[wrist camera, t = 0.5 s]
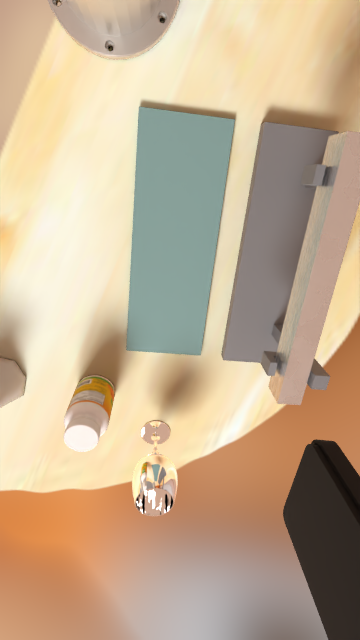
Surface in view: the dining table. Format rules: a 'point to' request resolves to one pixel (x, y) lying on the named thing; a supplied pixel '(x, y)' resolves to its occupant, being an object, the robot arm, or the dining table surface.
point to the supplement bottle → (88, 413)
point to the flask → (10, 381)
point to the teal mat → (175, 227)
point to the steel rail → (318, 266)
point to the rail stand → (274, 243)
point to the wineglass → (154, 474)
